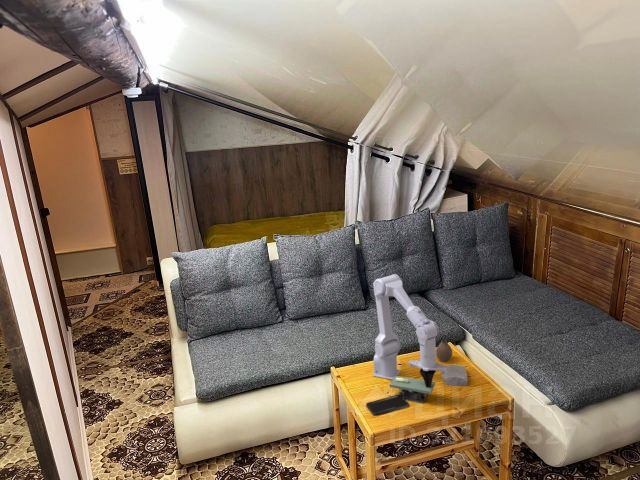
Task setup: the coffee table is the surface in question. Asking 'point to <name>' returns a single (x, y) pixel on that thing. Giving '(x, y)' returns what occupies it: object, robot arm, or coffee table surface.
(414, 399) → the tribrach base
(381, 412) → the phone
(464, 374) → the stone block
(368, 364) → the coffee table surface
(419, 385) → the plate
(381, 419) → the coffee table surface
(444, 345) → the vase
